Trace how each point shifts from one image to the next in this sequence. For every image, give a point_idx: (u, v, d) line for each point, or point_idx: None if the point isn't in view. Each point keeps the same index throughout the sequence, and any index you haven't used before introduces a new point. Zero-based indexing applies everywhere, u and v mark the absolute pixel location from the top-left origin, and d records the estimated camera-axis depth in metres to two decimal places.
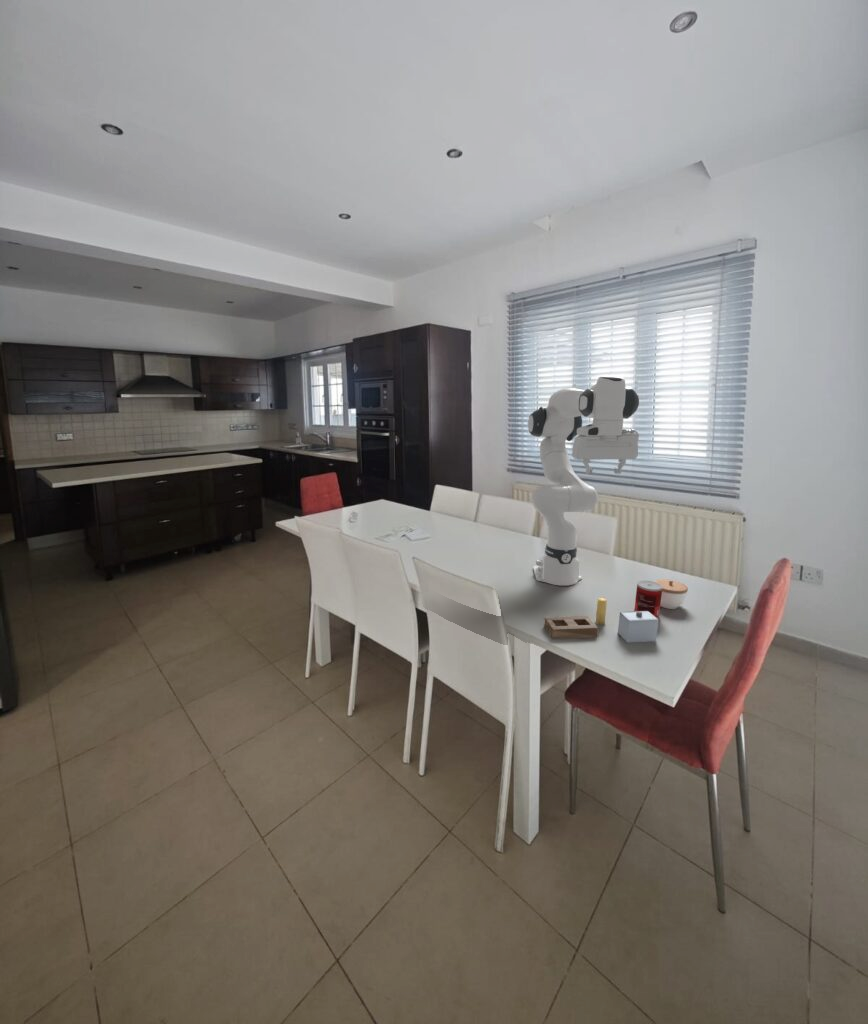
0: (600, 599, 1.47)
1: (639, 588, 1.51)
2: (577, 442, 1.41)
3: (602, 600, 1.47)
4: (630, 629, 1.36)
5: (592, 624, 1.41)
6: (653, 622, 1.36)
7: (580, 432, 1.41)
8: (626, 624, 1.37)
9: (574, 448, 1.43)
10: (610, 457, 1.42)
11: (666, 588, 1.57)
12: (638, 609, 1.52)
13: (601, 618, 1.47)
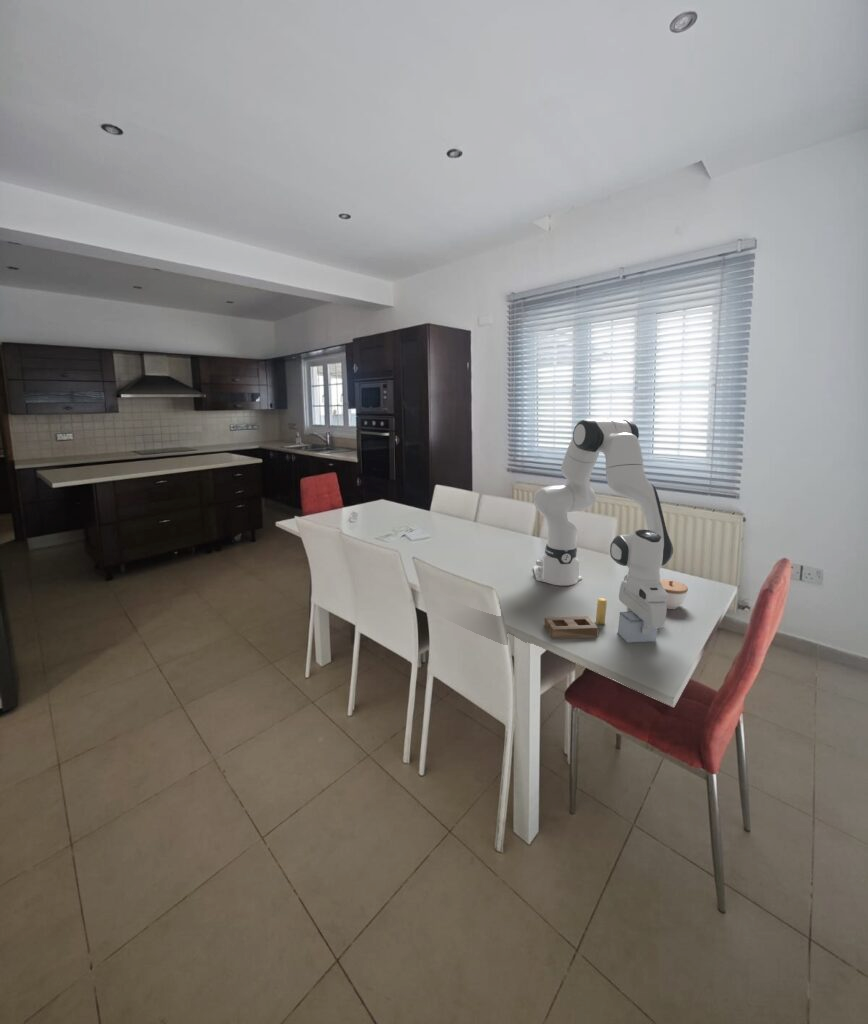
0: (600, 599, 1.47)
1: None
2: (662, 610, 1.28)
3: (602, 600, 1.47)
4: (630, 629, 1.36)
5: (592, 624, 1.41)
6: None
7: (660, 599, 1.28)
8: (626, 624, 1.37)
9: (657, 617, 1.28)
10: None
11: (666, 588, 1.57)
12: None
13: (601, 618, 1.47)
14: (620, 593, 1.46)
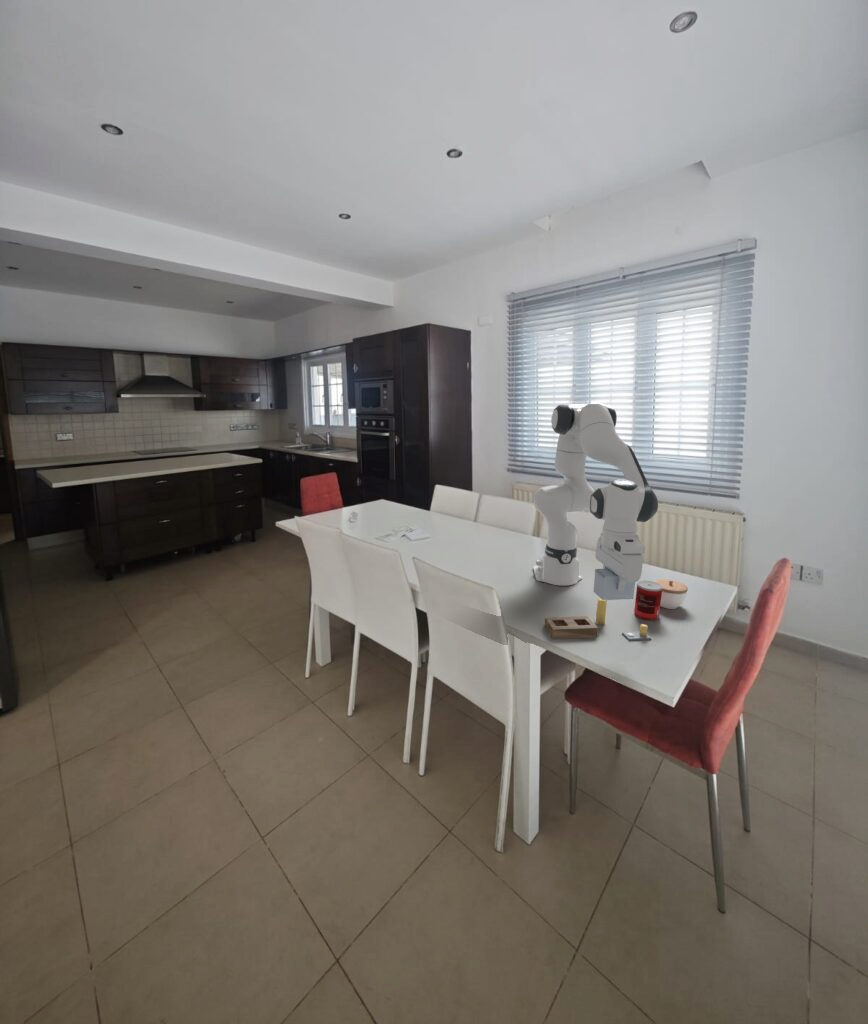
0: (600, 599, 1.47)
1: (639, 588, 1.51)
2: (637, 563, 1.19)
3: (602, 600, 1.47)
4: (605, 585, 1.27)
5: (592, 624, 1.41)
6: None
7: (636, 551, 1.19)
8: (601, 581, 1.29)
9: (633, 570, 1.19)
10: None
11: (666, 588, 1.57)
12: (638, 609, 1.52)
13: (601, 618, 1.47)
14: (597, 551, 1.37)
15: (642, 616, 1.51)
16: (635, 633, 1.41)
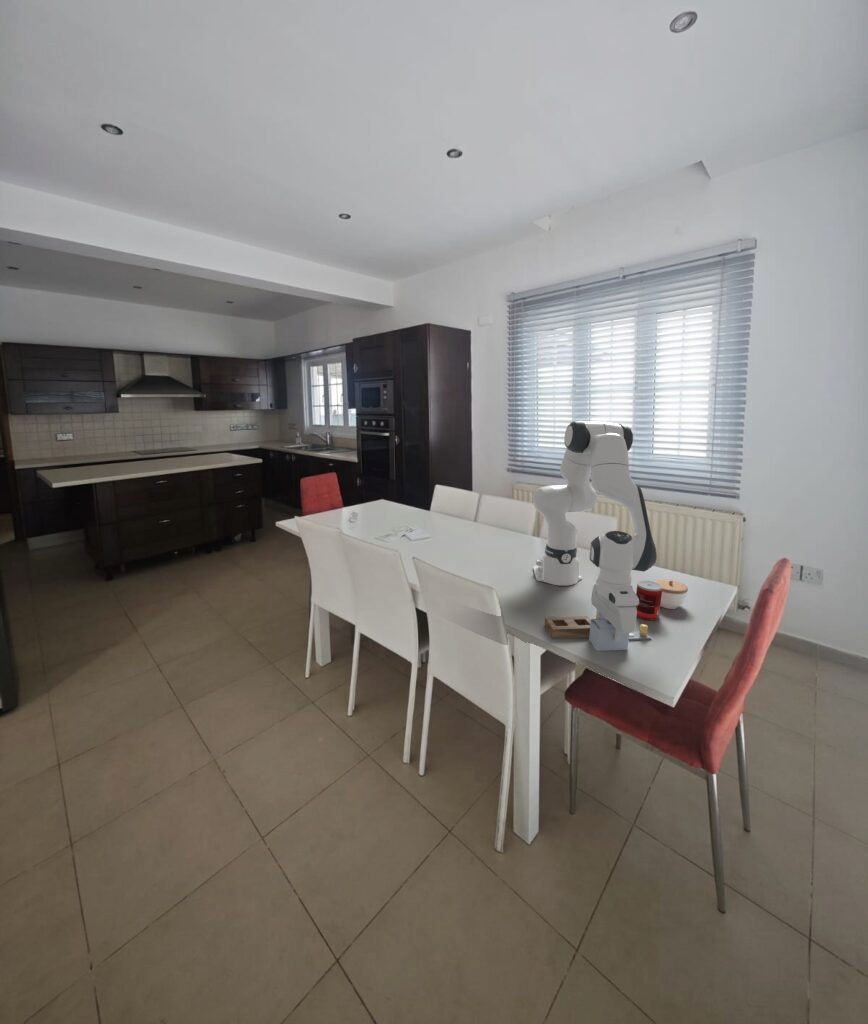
0: None
1: (639, 588, 1.51)
2: (631, 615, 1.23)
3: None
4: (600, 637, 1.31)
5: None
6: None
7: (630, 603, 1.23)
8: (596, 632, 1.32)
9: (627, 622, 1.23)
10: None
11: (666, 588, 1.57)
12: (638, 609, 1.52)
13: None
14: (593, 597, 1.41)
15: (642, 616, 1.51)
16: (635, 633, 1.41)
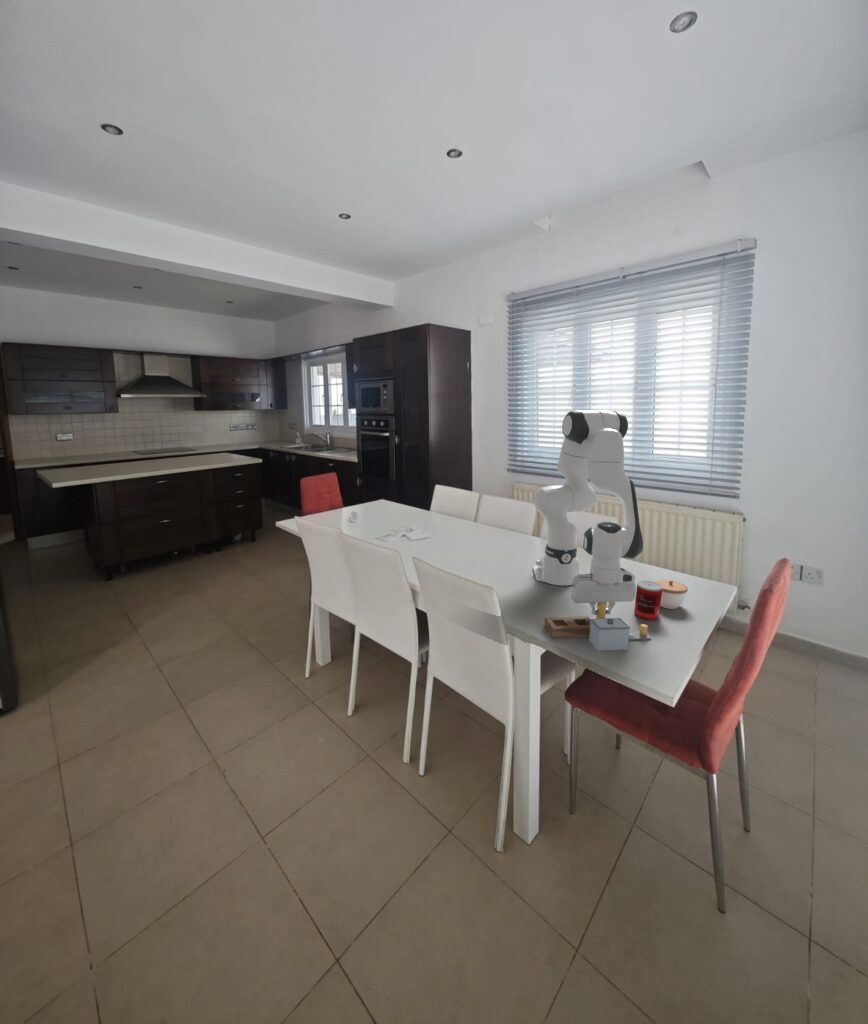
0: None
1: (639, 588, 1.51)
2: None
3: None
4: (600, 637, 1.31)
5: None
6: (624, 630, 1.31)
7: None
8: (596, 632, 1.32)
9: None
10: None
11: (666, 588, 1.57)
12: (638, 609, 1.52)
13: (601, 618, 1.47)
14: (579, 595, 1.44)
15: (642, 616, 1.51)
16: (635, 633, 1.41)
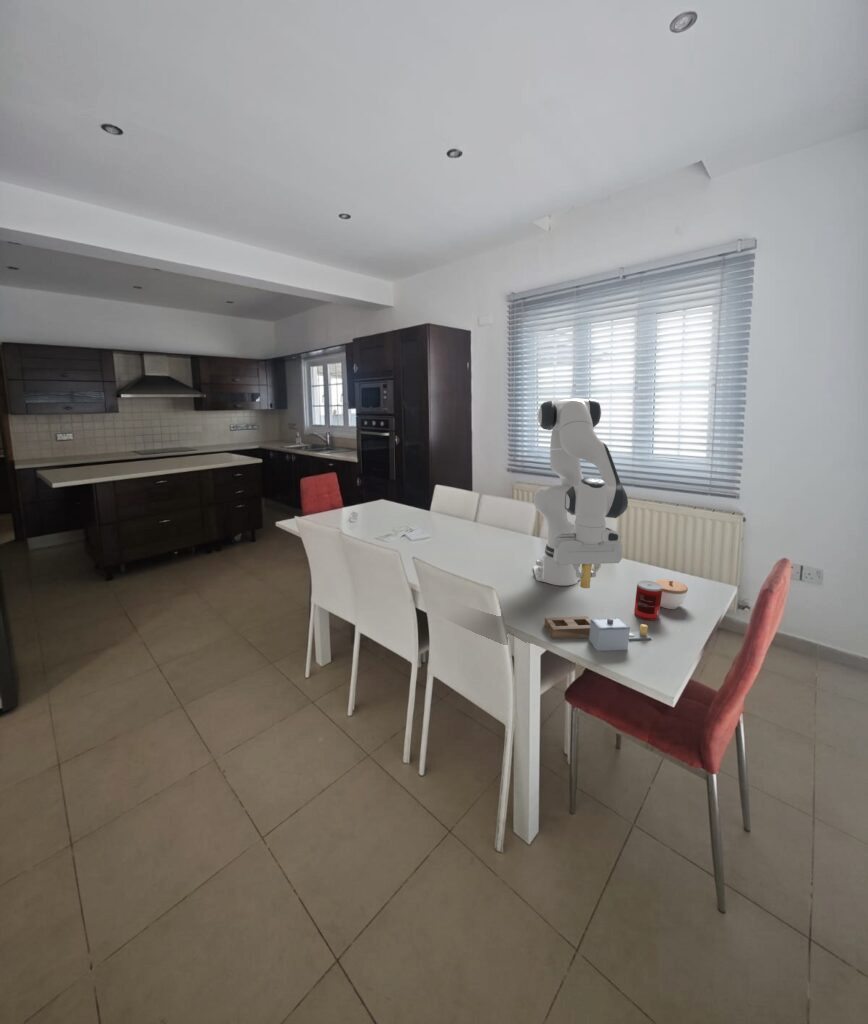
0: None
1: (639, 588, 1.51)
2: None
3: None
4: (600, 637, 1.31)
5: None
6: (624, 630, 1.31)
7: None
8: (596, 632, 1.32)
9: None
10: None
11: (666, 588, 1.57)
12: (638, 609, 1.52)
13: (586, 581, 1.38)
14: (562, 556, 1.35)
15: (642, 616, 1.51)
16: (635, 633, 1.41)
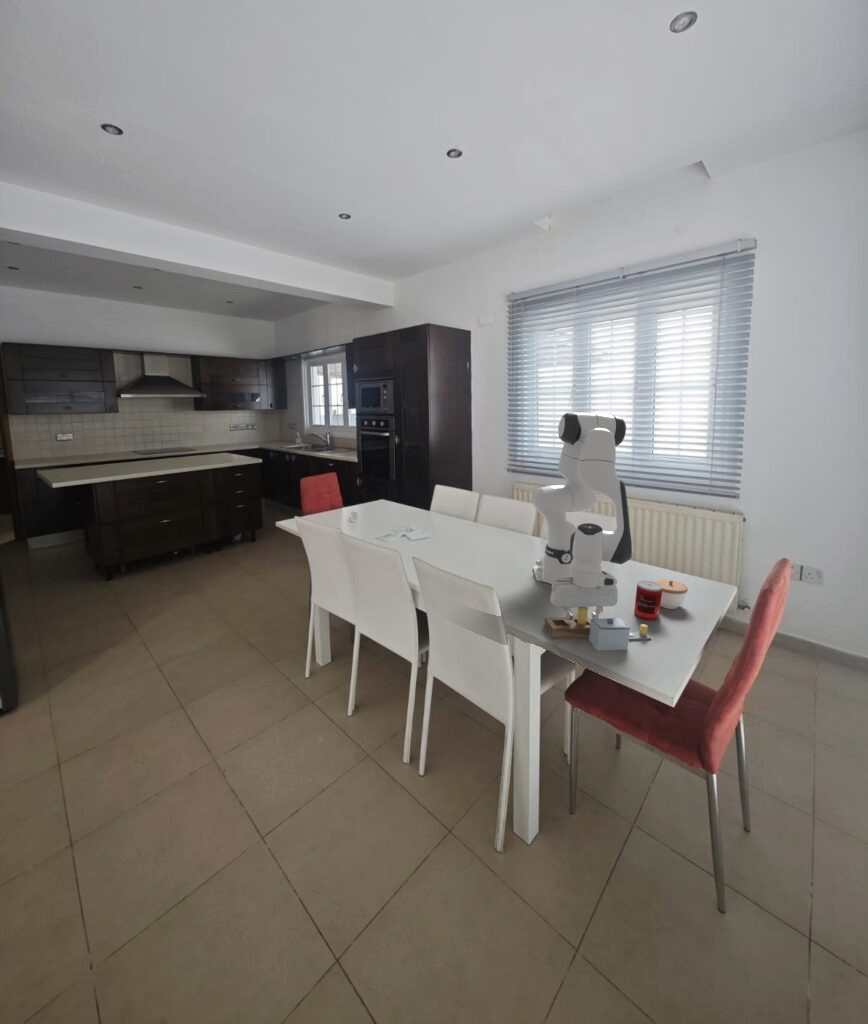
0: (581, 607, 1.42)
1: (639, 588, 1.51)
2: None
3: (583, 608, 1.41)
4: (600, 637, 1.31)
5: None
6: (624, 630, 1.31)
7: None
8: (596, 632, 1.32)
9: None
10: None
11: (666, 588, 1.57)
12: (638, 609, 1.52)
13: None
14: (559, 600, 1.38)
15: (642, 616, 1.51)
16: (635, 633, 1.41)
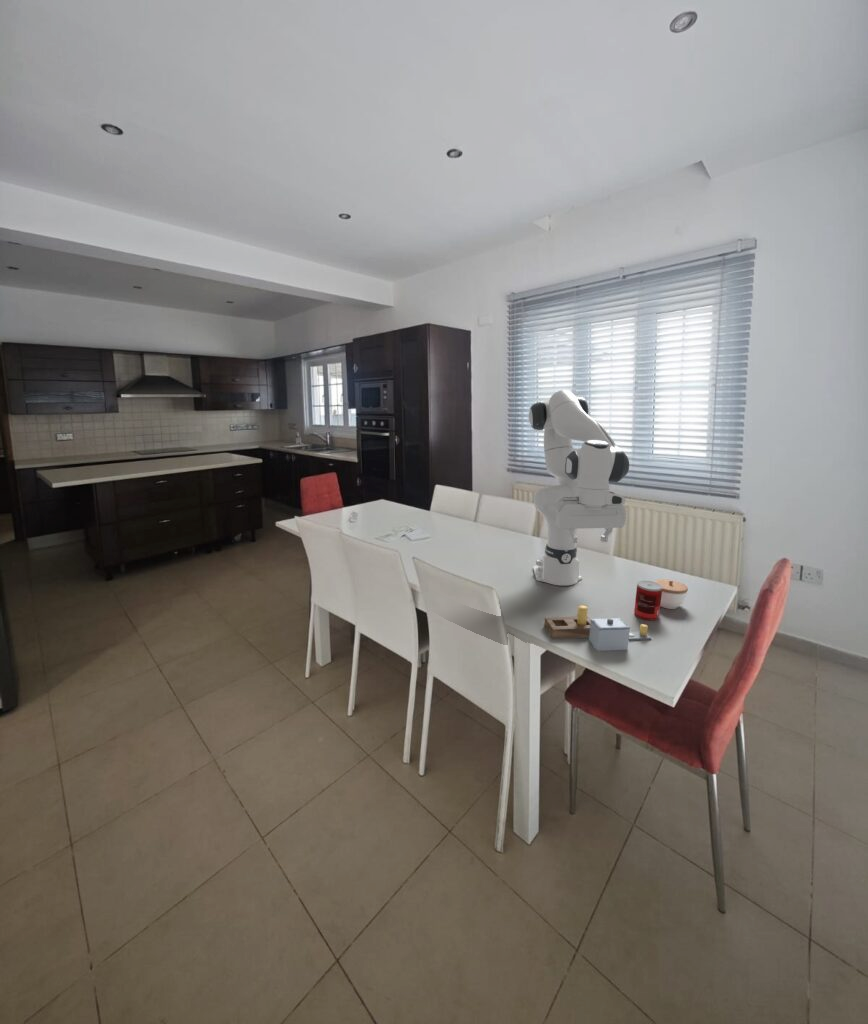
0: (581, 607, 1.42)
1: (639, 588, 1.51)
2: None
3: (583, 608, 1.41)
4: (600, 637, 1.31)
5: None
6: (624, 630, 1.31)
7: None
8: (596, 632, 1.32)
9: None
10: None
11: (666, 588, 1.57)
12: (638, 609, 1.52)
13: None
14: (565, 520, 1.33)
15: (642, 616, 1.51)
16: (635, 633, 1.41)
